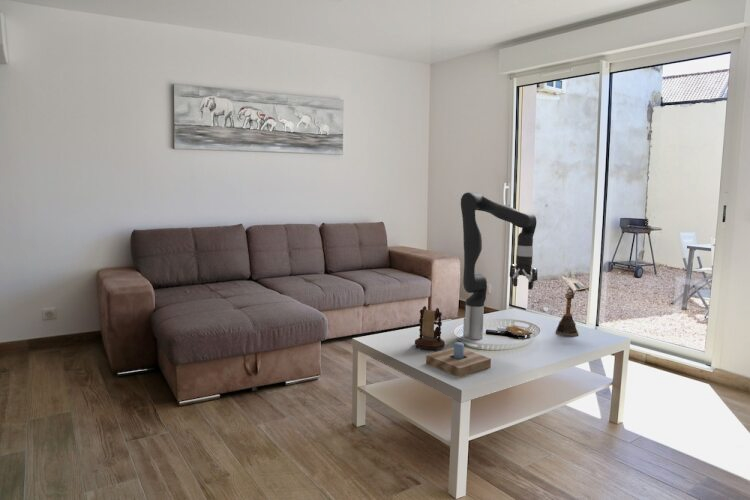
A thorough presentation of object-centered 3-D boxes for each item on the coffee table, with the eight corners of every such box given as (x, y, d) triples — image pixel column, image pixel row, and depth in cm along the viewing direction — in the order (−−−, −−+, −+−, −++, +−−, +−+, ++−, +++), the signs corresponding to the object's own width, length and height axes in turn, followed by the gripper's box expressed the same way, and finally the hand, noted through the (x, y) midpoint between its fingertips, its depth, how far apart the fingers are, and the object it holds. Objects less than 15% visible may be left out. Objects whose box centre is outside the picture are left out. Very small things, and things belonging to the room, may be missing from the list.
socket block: (425, 363, 232) (426, 355, 231) (456, 354, 244) (457, 346, 244) (459, 377, 216) (459, 368, 216) (490, 367, 229) (490, 358, 228)
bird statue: (592, 336, 276) (597, 271, 271) (576, 340, 269) (580, 273, 264) (567, 328, 290) (571, 267, 285) (551, 331, 284) (555, 268, 279)
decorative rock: (498, 333, 281) (519, 342, 269) (498, 326, 280) (519, 334, 268) (513, 329, 287) (534, 337, 274) (514, 322, 286) (535, 330, 274)
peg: (451, 365, 231) (451, 343, 229) (457, 363, 233) (458, 341, 232) (458, 367, 227) (459, 345, 226) (465, 365, 230) (466, 344, 229)
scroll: (409, 348, 252) (410, 308, 249) (421, 340, 265) (422, 302, 262) (438, 353, 245) (439, 312, 243) (449, 345, 258) (450, 305, 256)
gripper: (507, 253, 253) (505, 286, 255) (532, 257, 242) (530, 291, 244) (516, 252, 257) (515, 284, 260) (541, 255, 246) (539, 289, 249)
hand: (522, 287), depth 252 cm, fingers open, 8 cm apart
